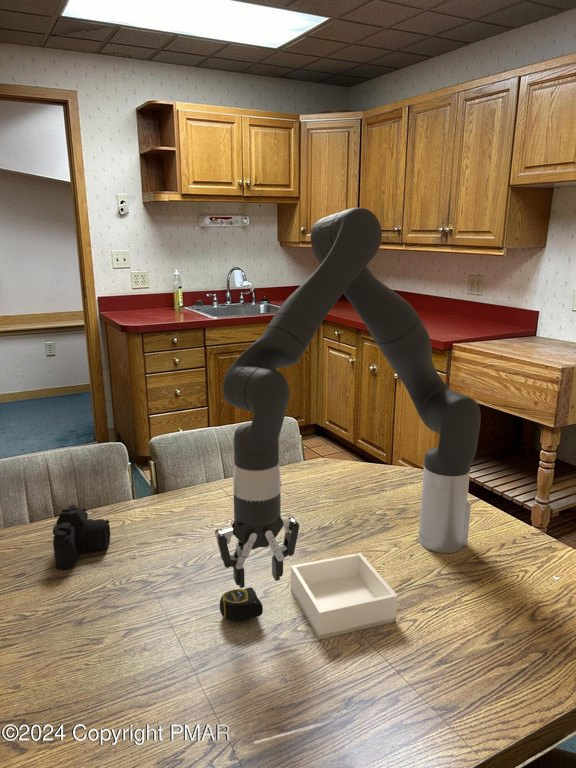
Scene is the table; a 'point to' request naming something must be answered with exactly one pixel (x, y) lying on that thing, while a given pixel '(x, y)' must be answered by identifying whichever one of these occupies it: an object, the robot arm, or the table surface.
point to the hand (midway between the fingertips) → (258, 581)
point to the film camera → (77, 536)
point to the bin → (342, 595)
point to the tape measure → (240, 605)
